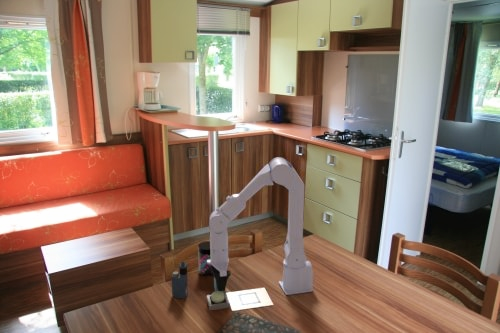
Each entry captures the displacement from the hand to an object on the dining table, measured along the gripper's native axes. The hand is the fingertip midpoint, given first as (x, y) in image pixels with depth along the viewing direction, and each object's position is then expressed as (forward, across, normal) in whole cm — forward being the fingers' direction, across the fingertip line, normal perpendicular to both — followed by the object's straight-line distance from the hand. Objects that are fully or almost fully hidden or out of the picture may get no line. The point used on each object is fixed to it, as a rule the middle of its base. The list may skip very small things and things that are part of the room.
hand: (219, 285), depth 133 cm
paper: (+1, +8, +8) cm, 11 cm away
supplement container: (+2, -12, -2) cm, 12 cm away
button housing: (+1, +8, -2) cm, 8 cm away
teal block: (+2, 0, 0) cm, 2 cm away
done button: (0, +8, -2) cm, 8 cm away
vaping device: (+2, +1, -13) cm, 13 cm away
